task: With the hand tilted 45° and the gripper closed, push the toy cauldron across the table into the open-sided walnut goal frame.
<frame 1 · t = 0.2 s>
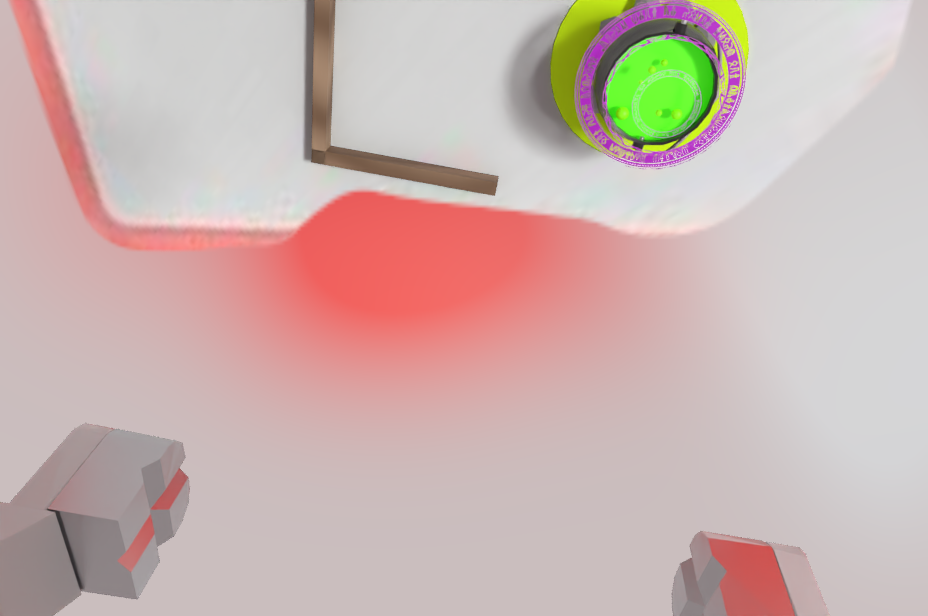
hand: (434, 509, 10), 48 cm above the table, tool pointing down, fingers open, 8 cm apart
toy cauldron: (646, 65, 52), on the table
goal frame: (441, 30, 52), on the table
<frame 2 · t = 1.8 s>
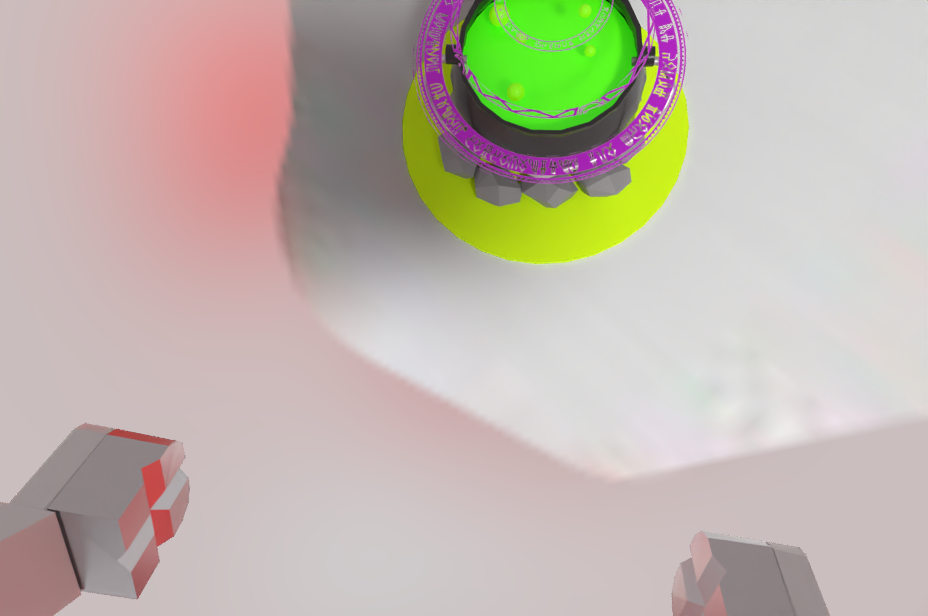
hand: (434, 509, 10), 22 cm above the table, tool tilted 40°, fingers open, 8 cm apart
toy cauldron: (542, 127, 35), on the table
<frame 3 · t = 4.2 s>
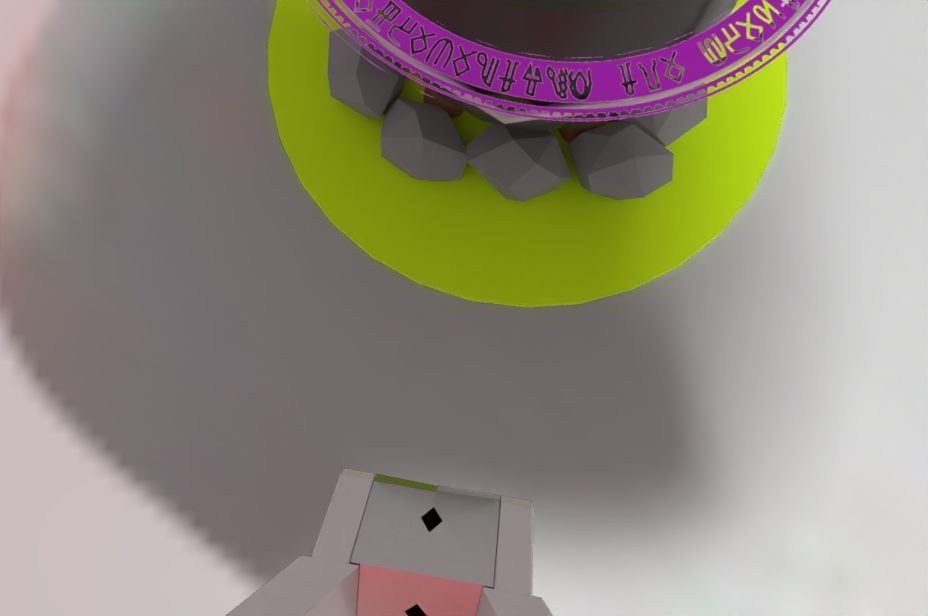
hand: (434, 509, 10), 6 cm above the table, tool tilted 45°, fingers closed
toy cauldron: (526, 61, 19), on the table
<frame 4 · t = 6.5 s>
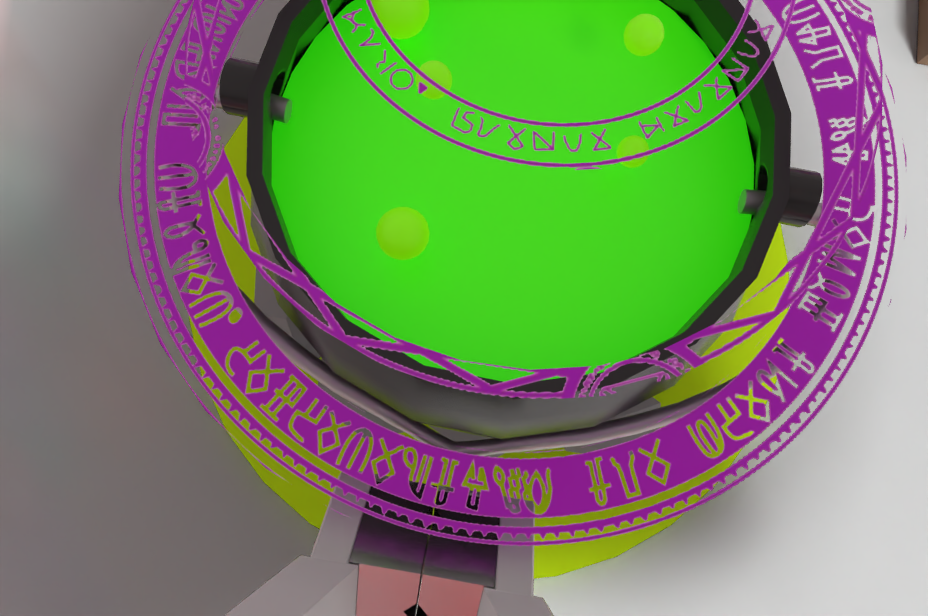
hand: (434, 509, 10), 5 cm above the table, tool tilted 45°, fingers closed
toy cauldron: (489, 268, 17), on the table, touching gripper
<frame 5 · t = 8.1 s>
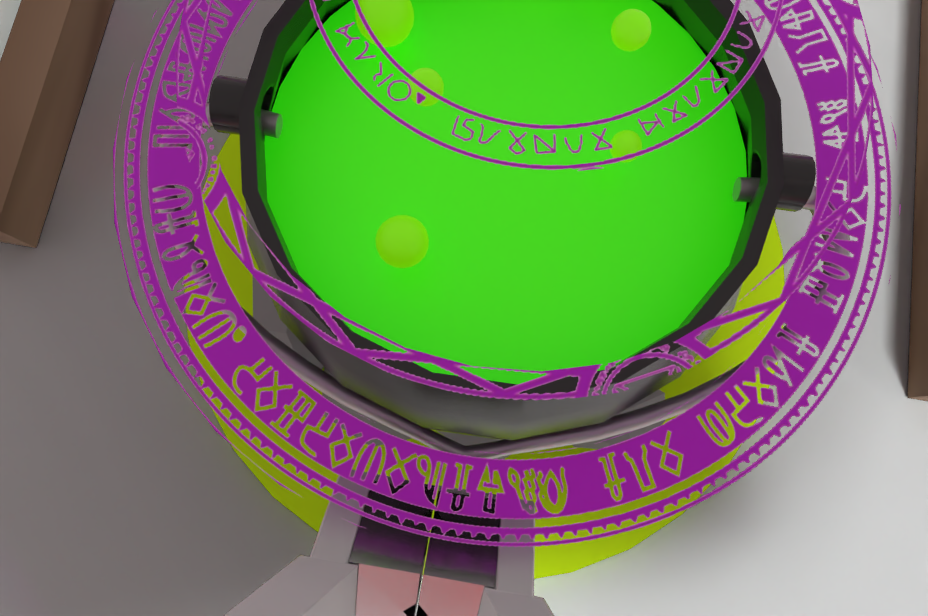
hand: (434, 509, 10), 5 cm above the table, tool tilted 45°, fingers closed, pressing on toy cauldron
toy cauldron: (485, 269, 17), on the table, touching gripper
goal frame: (507, 87, 18), on the table
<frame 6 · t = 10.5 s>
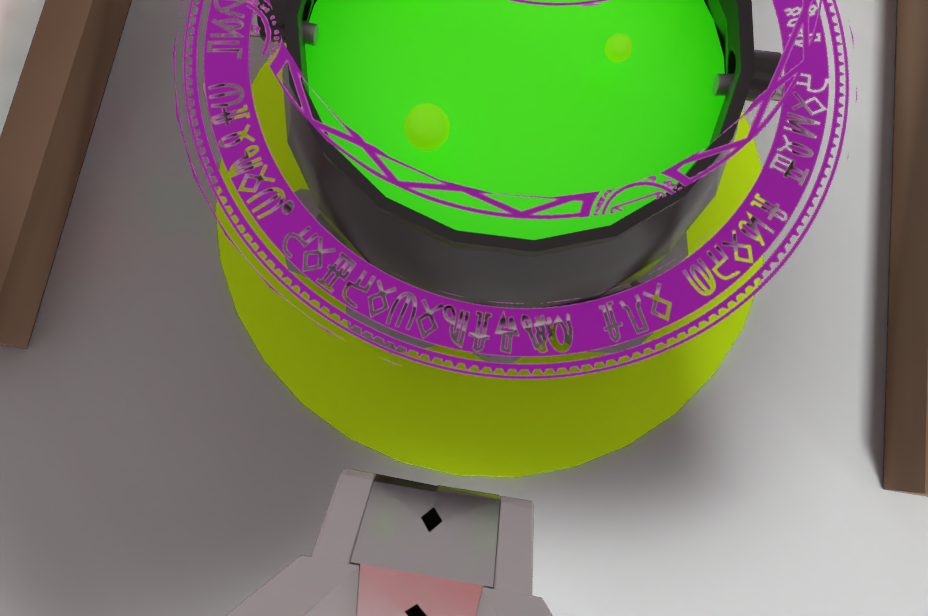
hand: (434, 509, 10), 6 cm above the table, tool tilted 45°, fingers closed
toy cauldron: (492, 199, 18), on the table
goal frame: (489, 180, 18), on the table
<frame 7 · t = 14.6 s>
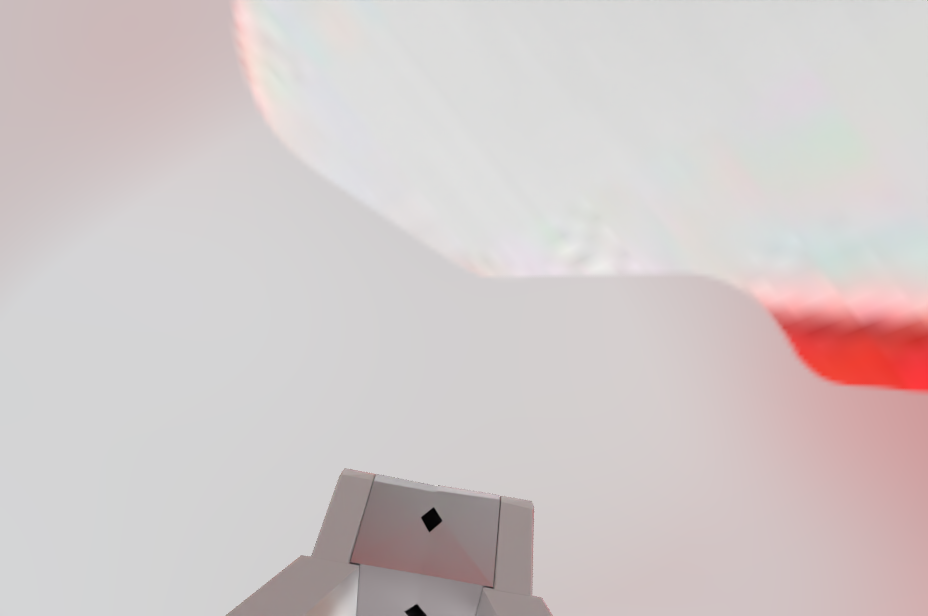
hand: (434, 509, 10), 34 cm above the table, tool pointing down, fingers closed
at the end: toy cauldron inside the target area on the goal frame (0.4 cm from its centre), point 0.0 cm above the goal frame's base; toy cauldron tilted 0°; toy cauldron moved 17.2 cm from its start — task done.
